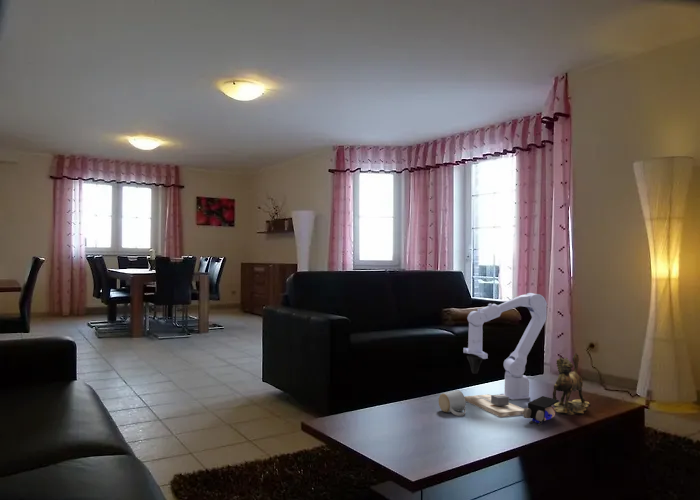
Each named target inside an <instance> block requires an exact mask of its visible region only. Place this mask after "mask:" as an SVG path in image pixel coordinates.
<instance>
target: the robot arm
mask: <svg viewBox="0 0 700 500" xmlns="http://www.w3.org/2000/svg"><path fill="white" fill-rule="evenodd" d="M547 306H548V303H547V301H546V299H545V297H544V296H543V295H542V294H539V293H533V292H527V293H526V294H521V295H517V296H516V297H512V298H511V299H509V300H507V301H505V302H502V303H500V304H496V303H490V302H489V303H488V304H487V306H485V307H482V308H477V310H472V311H470V312H469V313H468V314H467V317H466V319H467V322H468V339H467V340H468V341H467V343H468V344H467V347H463V350H462V351H463V354H468V355H466V359H467V360H468V363H469V366H470V371H471V374H479V371H480V366H481V364H482V362H483V360H486V359H489V358H488V356H489V354H488V353H487V352H485V351H483V338H484V337H483V333H484V331H483V325H484V323H487V322H490V321H491V320H494V319H497V318H500V317H501V315H502V313H504V312H507V311H509V310H513V309H515V308H518V307H525V308H526V309H528V311H529V313H530V316H531V319H530V321H529V323H528V325H527V326H526V328H525V330H524V332H523V334H522V336H521V338H520V339H519V342H518V344H517V345H516V347H515V349H514V351H512V352H510V354H509V356H508V357H507V358H506V359H504V361H503V368H504V370H505V372H504V393H502V394H503V395H506V396H508V397H509V400H512V401H513V400H514V401H515V400H524V399H531V396H530V380H529V378H528V376H527V375H524V373H525V371H526V365H527V361H528V360H527V358H528V355H529V353H530V352H531V350H532V347H533V346H534V343H536V342H535V341H536V340H537V338H538V337H539V334H540V333H541V330H543V329H542V328H543V326H544V325H545V323H546V321H547V317H548V316H547Z"/></svg>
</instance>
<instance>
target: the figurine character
mask: <svg viewBox="0 0 700 500" xmlns="http://www.w3.org/2000/svg"><path fill="white" fill-rule="evenodd" d="M557 402H560V400H559V399H553V397H552V398H551V397H548V396H540V397H538V398H536V399H533V400H532V401H529V402H527V407H525V408H523V409H524V411H523V415H522V416H523V418H524V419H532V420H531V421H529V424H532V425H533V423H534V422H535V423H537V426H538V427H539V426H540V425H542V424H543V423H544V422H545V421H548V420H551V419H553V418H555V416H556V410H555V409H554V408H555V407H554V404H556V403H557Z"/></svg>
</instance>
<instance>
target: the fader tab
mask: <svg viewBox="0 0 700 500" xmlns="http://www.w3.org/2000/svg"><path fill="white" fill-rule="evenodd" d="M503 394H504V393H499V394H490V395H491V403H492V404H494V405H496V406H503V405H509V403H510V402H509V401H510V399H509V397H508V396H506V395H503Z"/></svg>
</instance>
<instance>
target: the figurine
mask: <svg viewBox="0 0 700 500" xmlns="http://www.w3.org/2000/svg"><path fill="white" fill-rule="evenodd" d="M579 356H580V355H578V353H577V352H575V353H574V355H573V356H572V361H573V363H572V361H571V360H570V359H568V357H565V358H562V357H559V358H557V359H556V367H557V371H558V377H557V379H556V381H555V384H554V385H553V390H552V399H556V400H558V398H557V392H562V394H561V397H560V400H559V402H557V403H556V404H554V405H553V408H554V409H555V414H558V415H564V416H572V415H580V416H581V415H582V416H583V415H585V412H586V411H587V408H588V407H590V405H591V403H590V402H589V401H586V398H585V397H584V395H583V379H582V376H580V375H579V374H578V370H579V369H578V368H579V362H580V357H579ZM572 368H573V369H572ZM576 391H578V396H579V399H573V400H571V401H569V400H570V398H571V394H572V392H576Z"/></svg>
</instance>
